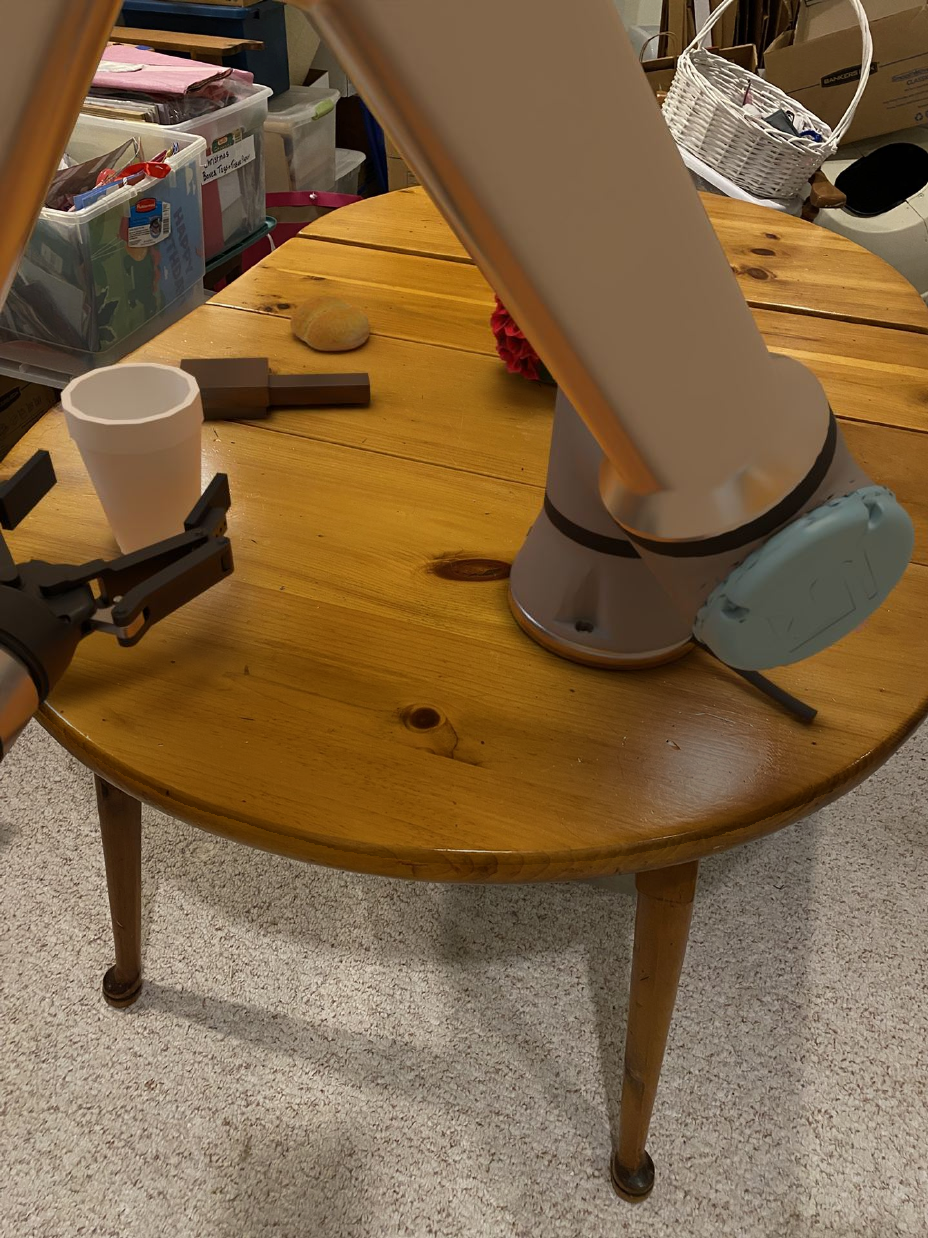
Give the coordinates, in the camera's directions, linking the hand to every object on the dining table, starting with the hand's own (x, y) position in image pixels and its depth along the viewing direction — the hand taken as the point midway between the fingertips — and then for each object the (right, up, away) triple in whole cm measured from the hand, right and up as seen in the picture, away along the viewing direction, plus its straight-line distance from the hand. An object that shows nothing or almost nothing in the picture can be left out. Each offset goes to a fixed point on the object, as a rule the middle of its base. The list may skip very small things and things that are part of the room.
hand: (135, 476), depth 68 cm
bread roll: (+9, +21, +36) cm, 43 cm away
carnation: (+38, +20, +37) cm, 57 cm away
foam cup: (0, -4, +6) cm, 7 cm away
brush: (+5, +11, +24) cm, 26 cm away
